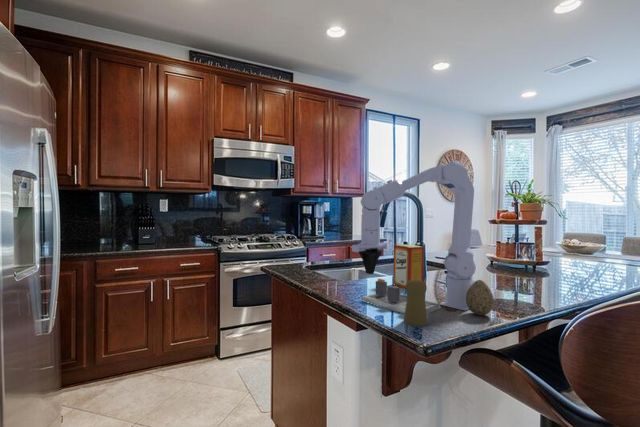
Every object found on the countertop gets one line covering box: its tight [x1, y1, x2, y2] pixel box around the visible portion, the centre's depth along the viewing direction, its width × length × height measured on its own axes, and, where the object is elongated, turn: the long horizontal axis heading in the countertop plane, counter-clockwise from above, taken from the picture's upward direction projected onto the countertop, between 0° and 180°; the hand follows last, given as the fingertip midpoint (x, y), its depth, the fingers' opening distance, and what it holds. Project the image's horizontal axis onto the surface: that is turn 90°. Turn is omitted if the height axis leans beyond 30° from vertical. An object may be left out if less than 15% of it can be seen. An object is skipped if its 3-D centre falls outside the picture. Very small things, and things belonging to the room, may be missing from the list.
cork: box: [403, 280, 428, 327], centre depth 88 cm, size 6×6×11 cm
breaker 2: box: [387, 285, 401, 302], centre depth 102 cm, size 2×3×4 cm, turn 42°
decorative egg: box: [466, 279, 495, 316], centre depth 95 cm, size 7×7×10 cm
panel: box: [361, 293, 440, 315], centre depth 104 cm, size 12×20×2 cm, turn 42°
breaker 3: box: [374, 278, 388, 296], centre depth 109 cm, size 2×3×5 cm, turn 42°
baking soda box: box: [392, 243, 425, 290], centre depth 129 cm, size 10×6×16 cm
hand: (369, 273), depth 105 cm, fingers closed
